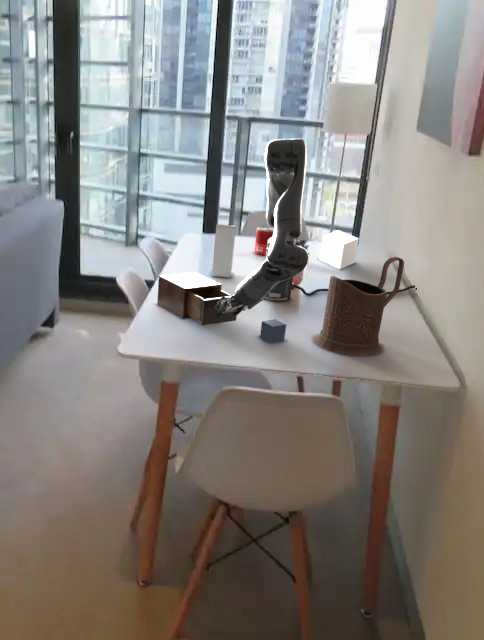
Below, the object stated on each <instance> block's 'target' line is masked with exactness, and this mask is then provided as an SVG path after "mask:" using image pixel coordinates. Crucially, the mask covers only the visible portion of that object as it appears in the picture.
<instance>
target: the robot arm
mask: <svg viewBox="0 0 484 640" xmlns="http://www.w3.org/2000/svg"><path fill="white" fill-rule="evenodd" d="M307 158H308V157H307V144H306V142H305V140H304V139H303V138H283V139H281V138H280V139H273V140H270V141H269V142H268V143H267V145H266V148H265V153H264V162H265V163H264V164H265V169H266V177H267V178H266V197H267V204H266V205H267V206H266V212H265V213H266V214H265V219H266V224H267V226H268V227H272V228H274V233H273V237H272V238H270V239H269V240H268V243H267V251H266V256H265V260H264V261H263V262H262V263H260V264H259V265H258V266H257V267H256V268H255V269H254V270H253V271H251V272H250V273H249V274H248V275H246V276H245V278H244V279H243V280H242V281H240V283H238V284H237V286H236V287H235V291H234V294H231V297H230V298H228V299H225V297H222V298H221V299H220V300H219V302H218V303H217V304H216V308H217V311H216V312H215V314H216V317H217V318H221V317H222V316H223V315H224V314H225V313H226V312H228V311H232V310H234V309H236V308H238V310H237V312H233V314H234V316H236V317H238V315H240V313H242V312H245V311H246V310H251V309H252V308H255V306H257V305H258V304H260V303H261V302H262V301H263V299H264V300H267V301H272V302H285V301H290V300H291V298H292V291H294V290H295V289H297V290H299V291H301V292H302V294H303V295H305V296H308V297H309V296H310V297H311V296H313V295H314V294H317V293H319V292H328V289H329V288H317V289H314V290H313V291H311V292H306V290H305V289H304V288H303V287H301V286H300V285H297V284H295V282H293V281H294V277H295V276H297V275H299V274H300V273H302V272H303V271H304V270H305V269H306V267H307V265H308V263H309V258H310V257H309V252H308V251H307V249H306V248H304V247H303V246H300V245H296V240H298V239H299V238H300V237H301V234H302V204H303V203H302V202H303V194H304V188H305V180H306V170H307ZM415 286H416V285H414V284H413V285H409V286H407V287H404V288H402V289H400V288H399V291H398V293H399V294H400V293H404V292H406V291H409V290H411V289H415V290H416V291H418V290H417V288H415ZM392 291H393V290H391V291H387V294H386V295H389V294H390V293H391V292H392ZM398 293H397V294H398ZM230 302H231V304H230ZM231 305H232V306H233V307H231ZM226 306H227V309H225V308H226Z"/></svg>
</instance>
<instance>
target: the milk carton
mask: <svg viewBox="0 0 484 640" xmlns="http://www.w3.org/2000/svg"><path fill="white" fill-rule="evenodd" d="M236 230H237V226H236V225H230V224H221V223H220V224H218V223H217V224H216V228H215V234H214V245H213V254H212V264H211V265H212V266H211V276H212V277H221V278H231V276H232V272H233V265H234V264H233V263H234V253H235V243H236V235H237V234H236V232H237V231H236Z"/></svg>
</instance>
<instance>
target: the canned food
mask: <svg viewBox="0 0 484 640" xmlns="http://www.w3.org/2000/svg"><path fill="white" fill-rule="evenodd" d="M255 233H256V234H255V244H254V254H256V255H258V256H264V257H266V251H267V243H268V240H269V239H270V238H272V237H273V233H274V228H272V227H270V226H265V225H264V226H258V227H256V232H255Z"/></svg>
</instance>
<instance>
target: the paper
mask: <svg viewBox="0 0 484 640" xmlns="http://www.w3.org/2000/svg"><path fill="white" fill-rule="evenodd" d="M359 240H360V239H359V237H357V236H354V235H351V234H348V233H346V232H344V231H342V230H339V229H337V230H335V231H332V232H328V233H326V234H324V235H322V241H321V246H320V252H319V253H320V254H319V261H322V262H324V263H326V264H327V265H329V266H331V267H333V268H336V269H338V270H342V269H344V268H346V267H348V266H351V265H353V264H355V262H356V258H357V257H356V256H357V252H358V246H359Z"/></svg>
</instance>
